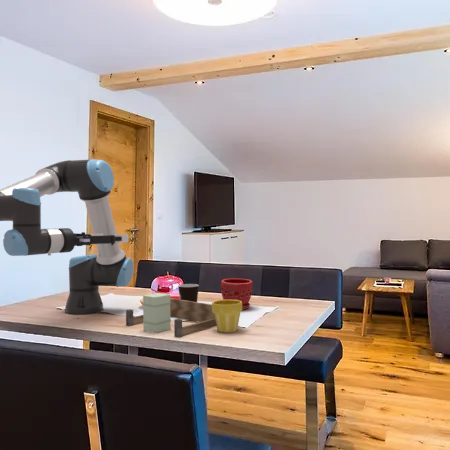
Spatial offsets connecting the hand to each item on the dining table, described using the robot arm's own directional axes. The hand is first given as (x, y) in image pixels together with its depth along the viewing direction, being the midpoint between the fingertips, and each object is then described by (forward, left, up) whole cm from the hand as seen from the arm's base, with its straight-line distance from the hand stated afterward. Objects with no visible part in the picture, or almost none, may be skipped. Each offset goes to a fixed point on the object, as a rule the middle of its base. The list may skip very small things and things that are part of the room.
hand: (114, 237), depth 157 cm
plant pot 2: (+30, +24, -32) cm, 50 cm away
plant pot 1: (+10, +55, -32) cm, 64 cm away
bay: (+10, +17, -32) cm, 38 cm away
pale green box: (+10, +10, -32) cm, 35 cm away
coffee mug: (-6, +43, -32) cm, 54 cm away
